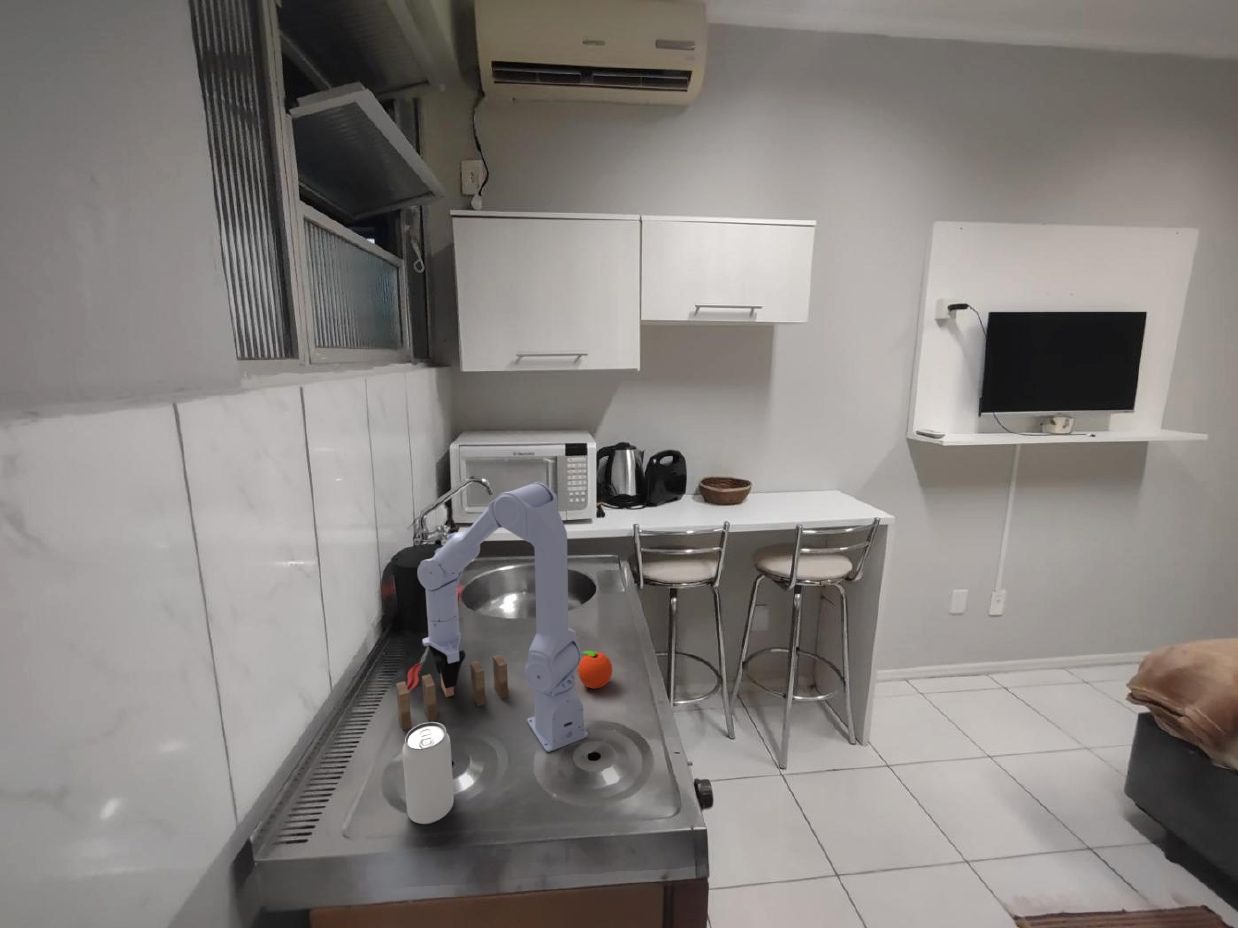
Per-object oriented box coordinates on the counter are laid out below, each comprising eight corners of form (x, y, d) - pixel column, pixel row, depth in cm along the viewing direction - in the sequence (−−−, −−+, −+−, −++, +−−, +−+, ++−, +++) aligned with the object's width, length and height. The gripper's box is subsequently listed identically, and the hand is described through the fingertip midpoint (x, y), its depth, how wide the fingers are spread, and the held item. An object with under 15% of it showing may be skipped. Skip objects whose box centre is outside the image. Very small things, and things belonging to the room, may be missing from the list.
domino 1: (411, 727, 95) (408, 692, 94) (402, 730, 95) (399, 694, 93) (407, 715, 99) (404, 681, 98) (398, 718, 98) (396, 683, 97)
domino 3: (454, 694, 105) (452, 662, 104) (446, 697, 104) (444, 664, 103) (449, 684, 108) (447, 652, 107) (441, 686, 108) (439, 654, 106)
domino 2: (437, 719, 98) (435, 684, 96) (428, 722, 97) (426, 687, 96) (432, 707, 101) (430, 673, 100) (424, 710, 100) (421, 676, 99)
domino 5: (508, 696, 105) (506, 663, 103) (500, 698, 104) (499, 665, 102) (501, 686, 108) (500, 654, 107) (494, 688, 107) (492, 656, 106)
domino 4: (485, 703, 102) (484, 670, 101) (477, 706, 101) (476, 672, 100) (479, 692, 106) (477, 660, 104) (472, 695, 105) (470, 662, 104)
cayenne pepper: (407, 698, 104) (406, 689, 104) (385, 696, 105) (384, 687, 105) (438, 665, 116) (437, 657, 116) (418, 663, 117) (418, 655, 117)
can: (408, 832, 74) (402, 756, 72) (406, 798, 80) (400, 726, 78) (456, 817, 77) (452, 743, 74) (451, 785, 82) (447, 715, 80)
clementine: (567, 685, 108) (566, 653, 107) (589, 670, 114) (589, 639, 112) (597, 700, 103) (597, 666, 102) (619, 683, 109) (619, 651, 108)
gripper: (414, 605, 108) (418, 666, 110) (429, 636, 95) (434, 704, 98) (449, 597, 111) (453, 657, 114) (468, 626, 99) (472, 692, 101)
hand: (446, 678), depth 106 cm, fingers open, 5 cm apart
